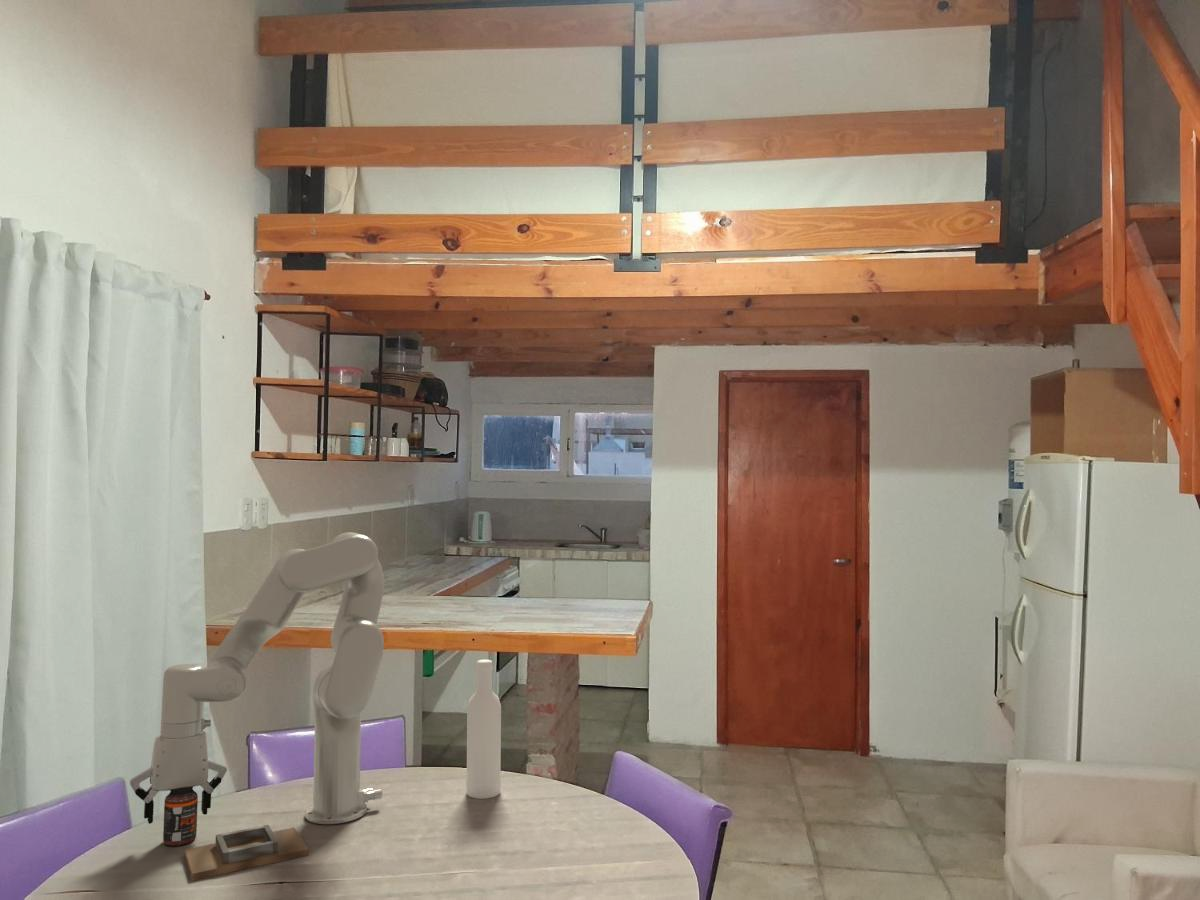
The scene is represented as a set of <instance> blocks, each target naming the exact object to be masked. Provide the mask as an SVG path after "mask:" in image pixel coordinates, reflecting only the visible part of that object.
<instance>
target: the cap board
mask: <svg viewBox="0 0 1200 900" xmlns="http://www.w3.org/2000/svg"><path fill="white" fill-rule="evenodd" d="M307 856H309V847H308V846H307V845H306V843H305V842H304V840H303V838H302V837H301V835H300V834H299V832H298V831H297V829H296V827H288V828H284V829H279V830H274V831H273V830H272V828H271V827H270V825H269V824H264V825H261V826H254V827H250V828H249V827H248V828H245V829H239V830H234V831H230V832H224V833H219V834H215V843H210V844H205V845H200V846H195V847H191V848H186V849H184V858H185V862H186V865H187V869H188V871H189V875H190V878H191V881H198V880H201V879H205V878H206V879H207V878H211V877H215V876H219V875H224V874H229V873H233V872H238V871H242V870H246V869H252V868H255V867H260V866H265V865H270V864H275V863H279V862H283V861H289V860H292V859H297V858H301V857H307Z"/></svg>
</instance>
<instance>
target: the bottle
mask: <svg viewBox="0 0 1200 900" xmlns="http://www.w3.org/2000/svg"><path fill="white" fill-rule="evenodd" d="M475 669H476V691H475V692H474V694H473V695H472V696H470V697H469V699H468V700H469V701H468V702H467V708H466V713H467V714H466V721H467V722H466V726H467V727H466V780H465V781H466V782H465V787H466V795H467V796H468V797H470V798H472V799H475V800H476V799H477V800H485V799H492V798H495V797H497V796H499V795H500V794H501V787H502V776H501V774H502V773H501V759H502V758H501V755H502V754H501V753H502V750H501V749H502V747H501V746H502V743H501V742H502V741H501V738H502V736H501V735H502V704H501V702H500V698H499V696H498V695H497V694H496V693H495V692H494V691H493V669H494V665H493V661H492V660H490V659H479V660H477V661H476V667H475Z"/></svg>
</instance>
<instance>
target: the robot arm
mask: <svg viewBox="0 0 1200 900" xmlns="http://www.w3.org/2000/svg"><path fill="white" fill-rule="evenodd" d="M341 582H343V591H342V596H341V601H340V605H339V608H338V612H337V613H336V614H337V615H336V618H335V621H334V624H333V628H332V631H331V634H330V644H331V647H332V650H333V652H334V653H335V655H334V658H333V662H332V663H331V664H329V665H327V666H325V667H324V668H323V669H322V670H321V671H320V672H319V673H318V674H317V676H316V678H315V680H314V683H313V691H312V693H313V694H312V695H313V696H312V697H313V698H312V699H313V711H314V741H313V744H314V745H313V746H314V748H313V750H314V751H313V794H312V795H313V799H312V800H313V802H312V803H313V804H311V805H310V806H309V807H307V809H306V810H305V814H304V816H305V819H306V820H307V821H308V822H311V823H312V824H319V825H337V824H344V823H349V822H352V821H355V820H358V819H359V818H361V817H363V816H364V815H365V814H366V812H368V811H367V810H368V804H367V803H368V801H372V800H373V801H376V800H381V799H382V798H383V791H382V789H381V788H379V789H374V790H373V788H372V787H371V788H366V789H362V788H361V739H362V726H361V725H362V723H361V722H362V720H361V719H362V718H361V717H362V716H361V714H362V713H363V712H364V710H365V709H366V708H367V706H368V704H369V702H370V701H371V698H372V696H373V692H374V688H375V684H376V680H377V677H378V674H379V670H380V666H381V662H382V658H383V654H384V646H385V641H384V640H385V639H384V634H383V632H382V630H381V628H380V627H379V626H378V624H377V623H378V618H379V614H380V610H381V606H382V601H383V596H384V589H385V576H384V571H383V568H382V564H381V562H380V560H379V551H378V547H377V544H376V542H374V541H373V540H372V538H370V537H368V536H367V535H365V534H361V533H357V532H353V531H352V532H351V531H350V532H348V531H347V532H343V533H340V534H338V535H337V536H335V537H334V538H333V540H332V541H331V542H329V543H327V544H326V543H325V544H323V545H320V546H316V547H312V548H309V549H303V548H291V549H289V550H287V551H285V552H284V553H283V554H282V555H281V556H280V557H279V558H278V559H277V561H276V562H275V564H274V565H273V567H272V568H271V570H270V572H269V573H268V575H267V576H266V578H265V579H264V581H263V583H262V584H261V586H260V587H259V588H258V591H257V592H256V594H255V595H254V596H253V598H252V600H251V601H250V603H248V606H247V607H246V609H245V610H244V611H243V613H242V614H241V615H240V616H239V618H238V619H237V621H236V623H235V624H234V625H233V627H232V628H231V629H230V631H229V632H228V633H227V634H226V636H225V637H224V639H223V641H222V642H221V643H220V645H219V646H218V648H217V650H216V651H215V653H214V654H213V655H212V657H211V658H210V660H209V662H208V664H207V666H206V667H205V668H204V667H203V666H202V665H200V664H195V663H183V664H176V665H172V666H169V667H167V669H165V671H164V672H163V679H162V696H161V697H162V698H161V699H162V700H161V713H160V714H161V719H160V735H157V736H156V737H155V739H154V742H153V743H154V744H153V748H152V752H151V754H152V755H151V762H150V763H151V764H150V767H149V768H148V769H146V770H144V771H143V772H140V773H138V774H137V775H135V776H133V777H132V778H130V780H129V784H130V786H131V788H132V790H133V792H134V793H135V794H134V795H136V797H138V798H139V799H141V800H142V801H143V802H144V804H143V805H144V807H143V808H144V810H143V818H144V819H147V823H148V825H149V824H152V823H153V822H154V809H155V808H154V807H155V806H154V798H155V797H156V795H157V794H158V793H159V792H167V791H170V790H174V789H178V788H182V787H193V788H194V787H198V786H199V787H201V788H202V789H203V790H202V791H201V808H200V809H201V810H200V811H201V812H202V814H203V815H204V816H205V815H206V816H207V815H208V809H211V807H212V805H211V803H212V793H213V792H214V790H215V789H216V788H217V787H218V786H219V785H220V784H221V783H222V781H223V779H224V776H225V775H226V773H227V771H228V768H227V767H226V766H225V765H222V764H220V763H217V762H215V761H211V760H209V749H208V748H209V747H208V739H207V733H206V731H204V730H205V729H206V728H207V727H211V725H212V721H211V719H205V717H204V703H219V704H222V703H225V704H226V703H231V702H234V701H237V700H238V699H240V698H241V697H242V696H243V695H244V693H245V692H246V690H247V686H248V677H247V675H246V671H247V670H248V668H249V667H250V665H251V663H252V662H253V660H254V659H255V657H256V655H258V652H259V651H260V650H261V649H262V648H263V646H264V645H265V644H266V643H267V642H268V641H269V640H270V639H272V638H273V637H275V636H276V635H278V634H279V633H280V632H281V631H282V630H283V629H284V628H285V626H286V625H287V623H288V622H289V620H290V618H291V617H292V616H293V613H294V612H295V610H296V609H297V608H298V606H299V604H300V602H301V601H302V599H303V598H304V596H305V595H306V594H307V592H311V591H315V590H319V589H323V588H326V587H329V586H332V585H335V584H338V583H341ZM209 770H212V771H215V772H217V773H216V775H215V776H214V777H213V778H211V781H208V778H209ZM147 779H149V784H150V787H149V788H148V789H146V790H145V789H144V788H142V786H141V785H140V784H141V783H142V782H143V781H145V780H147Z"/></svg>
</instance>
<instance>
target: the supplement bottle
mask: <svg viewBox="0 0 1200 900" xmlns="http://www.w3.org/2000/svg"><path fill="white" fill-rule="evenodd" d="M193 788H194V787H182V788H178V789H174V790H169V791H170V792H169V793H168V794H167V795H166V796H165V798H164V805H163V806H164V807H163V829H162V830H163V831H162V832H163V833H162V840H163V841H162V842H163V844H164V845H166V846H170V847H179V846H184V845H187V844H190V843H191V842H192V843H193V841H195V840H196V838H197V831H198V829H197V828H198V824H197V823H198V803H199V802H198V801H199V800H198V797H199V795H198V793H197V792H196V791H195V790H194V789H193Z"/></svg>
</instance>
